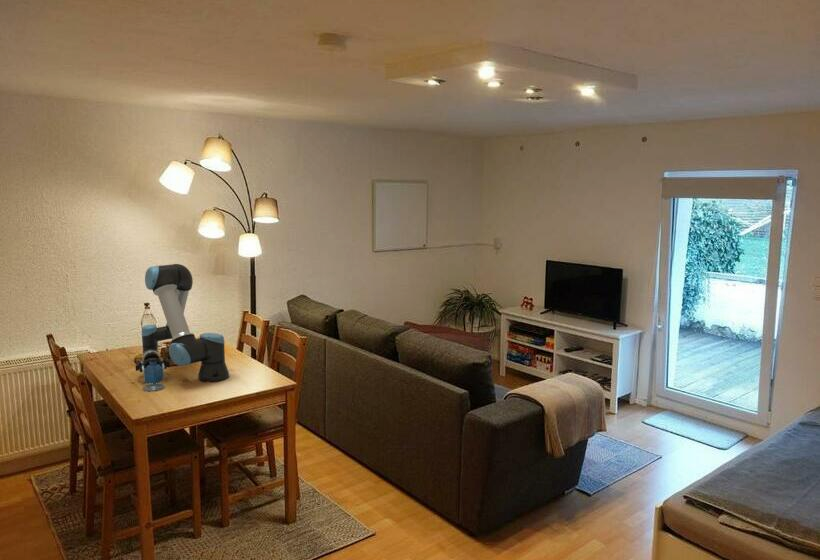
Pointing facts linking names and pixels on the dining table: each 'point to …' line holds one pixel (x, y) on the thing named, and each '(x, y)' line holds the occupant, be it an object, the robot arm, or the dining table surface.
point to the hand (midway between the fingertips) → (153, 370)
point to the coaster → (153, 387)
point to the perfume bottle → (153, 372)
